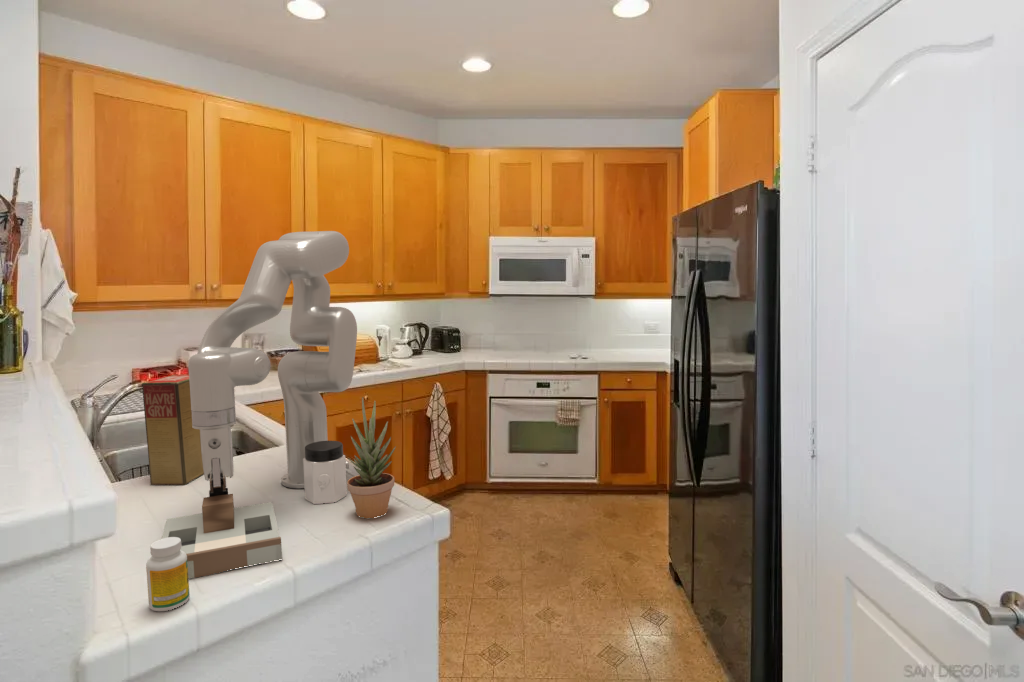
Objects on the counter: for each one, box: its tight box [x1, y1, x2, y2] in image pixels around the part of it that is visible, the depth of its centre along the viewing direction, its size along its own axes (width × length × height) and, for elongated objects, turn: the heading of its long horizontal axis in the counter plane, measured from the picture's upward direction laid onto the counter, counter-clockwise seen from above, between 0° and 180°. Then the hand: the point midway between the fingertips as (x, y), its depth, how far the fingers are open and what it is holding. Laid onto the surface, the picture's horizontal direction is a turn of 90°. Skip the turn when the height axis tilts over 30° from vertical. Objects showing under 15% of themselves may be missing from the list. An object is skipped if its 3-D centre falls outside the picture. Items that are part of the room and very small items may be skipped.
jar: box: [303, 440, 348, 505], centre depth 133 cm, size 9×8×12 cm
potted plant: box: [346, 396, 397, 519], centre depth 123 cm, size 10×10×25 cm
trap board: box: [161, 501, 283, 580], centre depth 109 cm, size 19×22×4 cm
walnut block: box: [201, 493, 235, 533], centre depth 111 cm, size 5×5×5 cm
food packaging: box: [141, 373, 204, 486], centre depth 149 cm, size 13×9×25 cm
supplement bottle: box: [145, 537, 191, 612], centre depth 90 cm, size 5×5×10 cm
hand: (219, 510), depth 116 cm, fingers closed
